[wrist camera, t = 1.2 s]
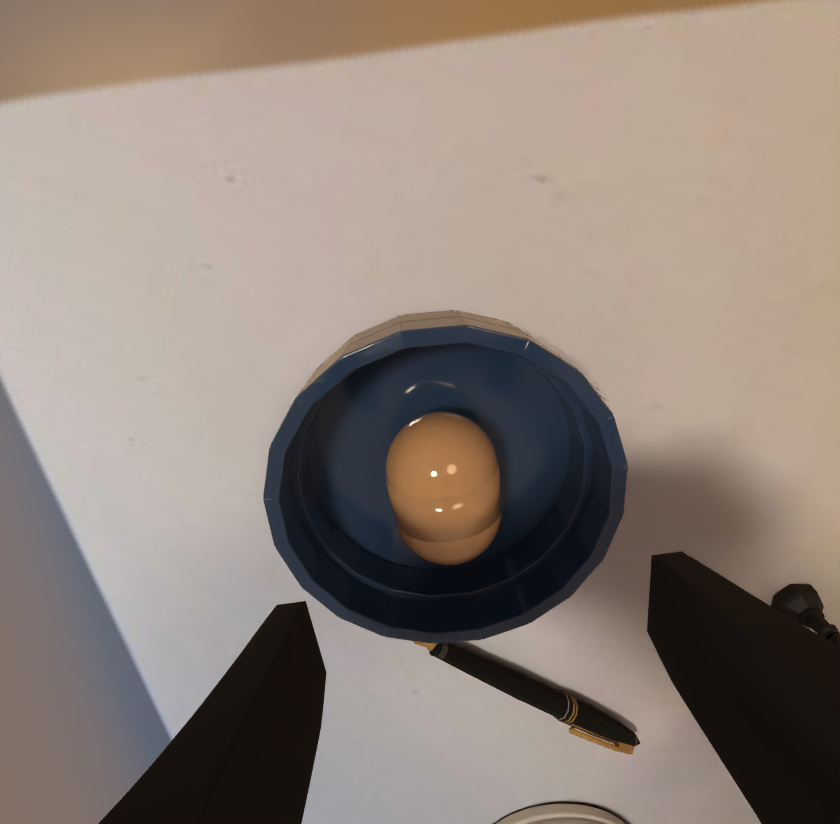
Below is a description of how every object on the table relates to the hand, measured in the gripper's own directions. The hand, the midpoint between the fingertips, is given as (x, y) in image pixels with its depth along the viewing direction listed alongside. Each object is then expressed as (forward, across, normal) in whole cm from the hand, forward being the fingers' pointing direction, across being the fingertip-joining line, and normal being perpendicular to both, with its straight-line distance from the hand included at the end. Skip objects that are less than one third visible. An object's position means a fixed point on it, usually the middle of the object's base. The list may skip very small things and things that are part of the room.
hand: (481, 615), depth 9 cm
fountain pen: (+9, -2, +13) cm, 16 cm away
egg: (+8, 0, 0) cm, 8 cm away
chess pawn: (+9, -15, +10) cm, 20 cm away
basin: (+8, 0, 0) cm, 9 cm away
